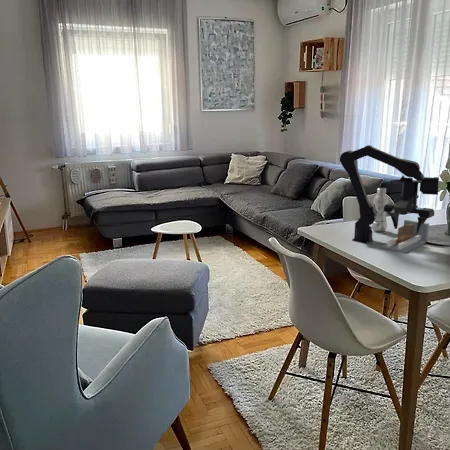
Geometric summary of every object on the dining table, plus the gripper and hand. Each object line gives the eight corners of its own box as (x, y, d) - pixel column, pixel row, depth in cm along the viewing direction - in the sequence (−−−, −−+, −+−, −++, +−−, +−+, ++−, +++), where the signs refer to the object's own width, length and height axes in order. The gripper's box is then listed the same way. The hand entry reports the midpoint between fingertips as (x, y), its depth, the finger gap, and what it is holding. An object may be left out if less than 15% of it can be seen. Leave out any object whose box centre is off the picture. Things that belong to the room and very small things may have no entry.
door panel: (396, 244, 180) (398, 228, 178) (408, 239, 186) (409, 223, 184) (401, 245, 178) (403, 229, 176) (412, 240, 185) (414, 224, 183)
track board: (381, 247, 180) (383, 228, 177) (404, 237, 193) (405, 219, 191) (405, 252, 172) (407, 233, 170) (427, 242, 186) (429, 223, 184)
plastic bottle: (389, 232, 202) (393, 188, 196) (377, 233, 199) (380, 190, 194) (380, 228, 207) (383, 186, 202) (368, 230, 205) (371, 187, 200)
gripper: (378, 193, 178) (375, 230, 182) (424, 199, 165) (420, 239, 169) (391, 189, 186) (388, 225, 190) (436, 195, 172) (432, 233, 176)
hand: (406, 230), depth 181 cm, fingers open, 9 cm apart
